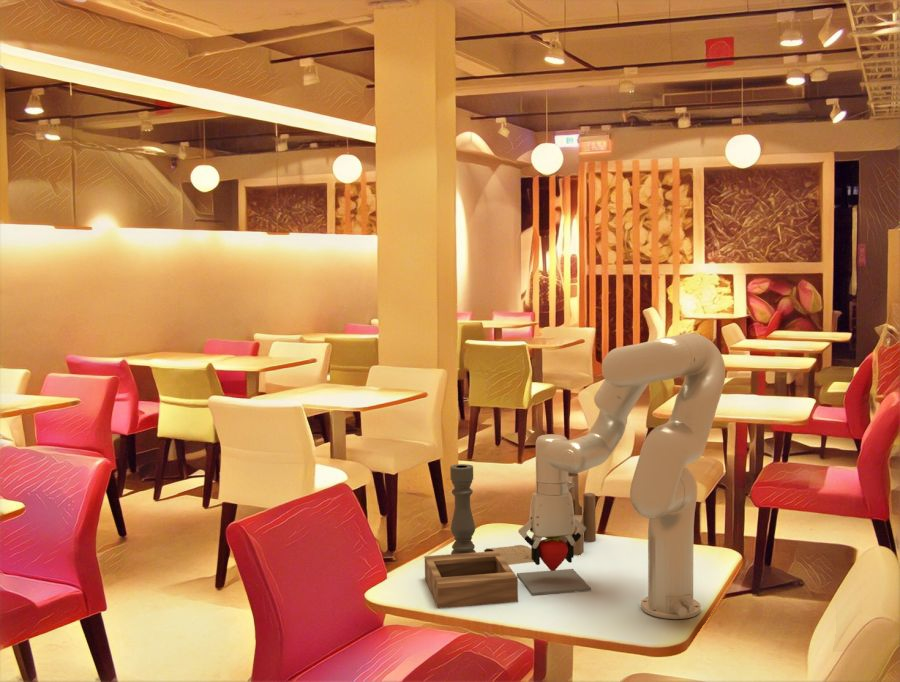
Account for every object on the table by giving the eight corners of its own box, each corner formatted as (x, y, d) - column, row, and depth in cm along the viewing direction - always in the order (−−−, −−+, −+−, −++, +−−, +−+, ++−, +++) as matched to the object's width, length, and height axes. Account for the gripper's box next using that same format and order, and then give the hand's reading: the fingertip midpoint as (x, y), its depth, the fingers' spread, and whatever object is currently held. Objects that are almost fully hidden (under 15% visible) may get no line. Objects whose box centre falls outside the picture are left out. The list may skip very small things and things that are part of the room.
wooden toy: (581, 556, 245) (580, 460, 243) (555, 553, 248) (554, 458, 246) (597, 539, 259) (596, 448, 257) (573, 537, 262) (572, 446, 260)
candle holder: (481, 564, 241) (479, 466, 238) (464, 570, 236) (462, 470, 234) (462, 559, 245) (460, 462, 243) (446, 565, 240) (444, 467, 238)
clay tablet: (482, 552, 252) (482, 542, 251) (518, 548, 255) (518, 538, 255) (503, 569, 238) (502, 559, 238) (540, 564, 241) (540, 554, 241)
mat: (591, 590, 220) (591, 588, 220) (531, 595, 218) (531, 592, 218) (572, 571, 234) (572, 568, 234) (517, 575, 231) (517, 573, 231)
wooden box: (517, 601, 214) (517, 577, 214) (438, 608, 211) (437, 583, 211) (498, 572, 234) (497, 550, 233) (425, 578, 231) (424, 556, 230)
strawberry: (564, 576, 221) (563, 534, 220) (533, 573, 224) (532, 531, 224) (571, 568, 227) (571, 527, 226) (541, 565, 230) (540, 524, 229)
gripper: (582, 482, 229) (583, 554, 231) (512, 486, 226) (512, 559, 228) (592, 489, 222) (593, 564, 223) (519, 494, 219) (520, 569, 220)
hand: (552, 561), depth 225 cm, fingers closed on strawberry, 7 cm apart
